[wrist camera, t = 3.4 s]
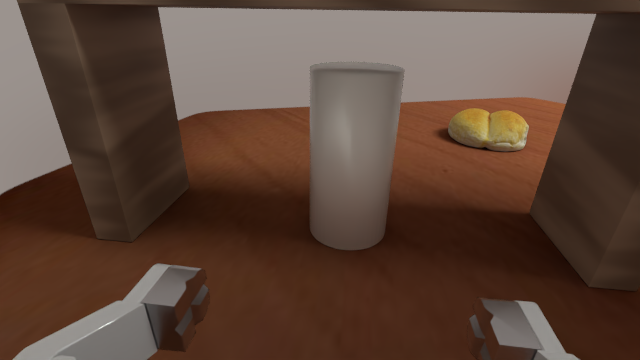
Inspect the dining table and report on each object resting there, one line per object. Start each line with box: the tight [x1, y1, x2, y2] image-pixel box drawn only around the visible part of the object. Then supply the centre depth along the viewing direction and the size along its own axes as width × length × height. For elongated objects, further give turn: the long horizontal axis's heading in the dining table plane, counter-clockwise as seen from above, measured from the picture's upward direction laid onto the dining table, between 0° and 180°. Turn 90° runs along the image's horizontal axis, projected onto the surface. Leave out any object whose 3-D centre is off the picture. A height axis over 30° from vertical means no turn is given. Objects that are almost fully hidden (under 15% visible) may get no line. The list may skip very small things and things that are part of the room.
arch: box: [17, 0, 640, 291], centre depth 21 cm, size 33×8×16 cm, turn 82°
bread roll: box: [448, 108, 529, 152], centre depth 41 cm, size 8×9×4 cm
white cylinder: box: [310, 62, 404, 250], centre depth 22 cm, size 5×5×11 cm
